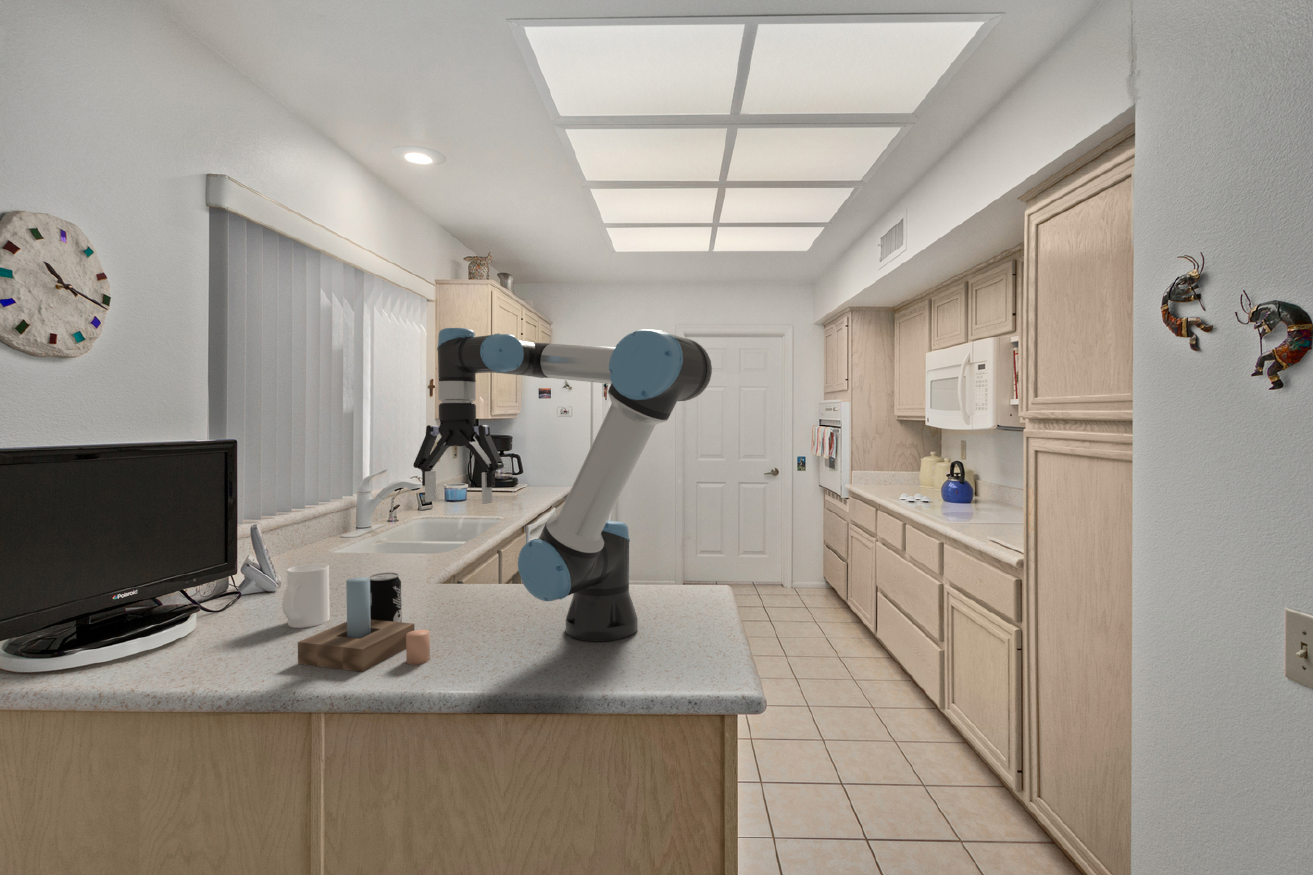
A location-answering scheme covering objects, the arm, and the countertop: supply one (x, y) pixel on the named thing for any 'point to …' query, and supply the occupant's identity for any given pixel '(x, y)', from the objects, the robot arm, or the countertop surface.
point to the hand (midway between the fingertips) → (458, 502)
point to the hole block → (354, 646)
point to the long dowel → (358, 607)
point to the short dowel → (417, 647)
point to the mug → (307, 595)
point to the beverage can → (385, 597)
